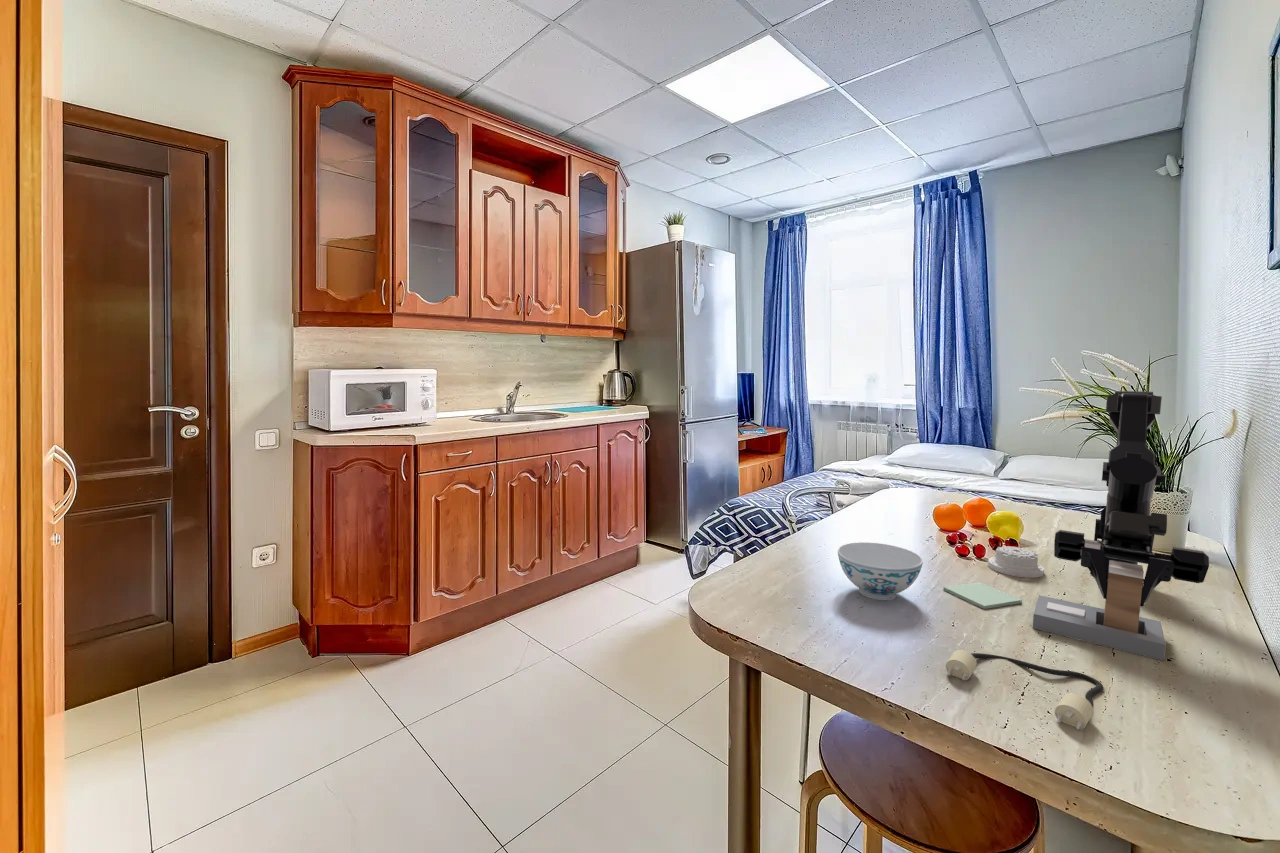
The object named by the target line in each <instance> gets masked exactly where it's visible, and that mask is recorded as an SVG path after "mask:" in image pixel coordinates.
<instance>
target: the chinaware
mask: <svg viewBox="0 0 1280 853" xmlns="http://www.w3.org/2000/svg"><path fill="white" fill-rule="evenodd" d="M837 558H838V560H839V563H840V564H839V565H840V567H841V569H842V571H843V573H844V575H845V576H846V578H847V579H848V580H849V581H850V582H851V583H852V584H853V585H854V586H855V587H857V588H858V592H859V594H861V595H862V596H864V597H867V598H868V599H869V598H870V599H873V600H878V601H891V600H894V599H895V598H897V595H898V594H900V593H902V592H904V591H905V590H908V589H909V588H910V587H911V586H912V585H913V584H914V583H915V582H916V580H917V578H918V577H919V575H920V572H921V570H922V568H923V564H924V560H923V557H921V556H920V555H919V554H918V553H916V552H913V551H912V550H909V549H907V548H903V547H899V546H897V545H891V544H887V543H886V544H885V543H879V542H865V541H864V542H862V541H860V542H850V543H845V544H843V545H841V546H839V547H838V549H837Z"/></svg>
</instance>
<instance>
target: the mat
mask: <svg viewBox="0 0 1280 853" xmlns="http://www.w3.org/2000/svg"><path fill="white" fill-rule="evenodd" d="M942 590H943V591H945V592H947V593H949V594H952V596H956V597H957V598H960V599H961V600H964V601H965V602H968V603H970V604H973V605H974V606H977V607H979V608H980V609H984V610H987V609H992V608H993V609H994V608H1000V607H1005V606H1011V605H1019V604H1022V603H1023V599H1021V598H1019V597H1015V596H1013V595H1011V594H1010V593H1006V592H1004V591H1002V590H999V589H997V588H994V587H992V586H990V585H988V584H985V583H982V582H980V581H978V582H970V583H962V584H957V585H956V584H955V585H949V586H943V589H942Z"/></svg>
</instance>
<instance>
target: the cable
mask: <svg viewBox="0 0 1280 853" xmlns="http://www.w3.org/2000/svg"><path fill="white" fill-rule="evenodd" d="M977 659H983V660H987V659H988V660H992V659H996V660H997V659H999V660H1005V661H1008V662H1011V663H1013V664H1015V665H1017V666H1020V667H1024V668H1027V669H1031V670H1033V671H1037V672H1040V673H1045V674H1048V675H1052V676H1059V677H1073V678H1077V679H1082V680H1085V681H1087V682H1090V683H1092V684H1093V685H1094V686H1095V687H1094V686H1093V687H1092V688H1090V689H1089V690H1088V691H1087V692H1086V693H1085V696H1082V695H1080V694H1077V693H1074V692H1068V693H1065V695H1063V697H1062V698H1061V700H1060V701H1059V703H1058V704H1057V705H1056V707H1055V708H1054V716H1055V718H1056V720H1057V723H1061V722H1062V723H1064V724H1067V725H1069V726H1071V727H1074V728H1076V730H1080V731H1082V730H1084V729H1085V728H1086V726H1087V725H1088V723H1089V721H1090V720H1091V717H1092V716H1093V714H1094V700H1093V697H1094V696H1096V695H1097V694H1099V693H1101V692H1102V691H1103V690H1104V686H1103V683H1101V682H1100V681H1099V680H1097V679H1096V678H1094V677H1091V676H1090V675H1088V674H1084V673H1081V672H1077V671H1072V670H1063V669H1062V670H1061V669H1053V668H1048V667H1044V666H1041V665H1038V664H1034V663H1031V662H1027V661H1023V660H1019V659H1015V658H1011V657H1007V656H1002V655H995V654H989V653H988V654H987V653H981V652H980V653H979V652H974V653H973V652H969V651H967V650H965V649H957V650H955V651H953V653H952V654H951V656H950V657H949V659H948V661H947V662H946V663H945V669H946V672H947V675H948V676H953V677H956V678H959V679H961V680H962V681H968V680H969V679H970V678H971V676H972V674H973V673H974V671H975V669H976V667H977Z"/></svg>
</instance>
